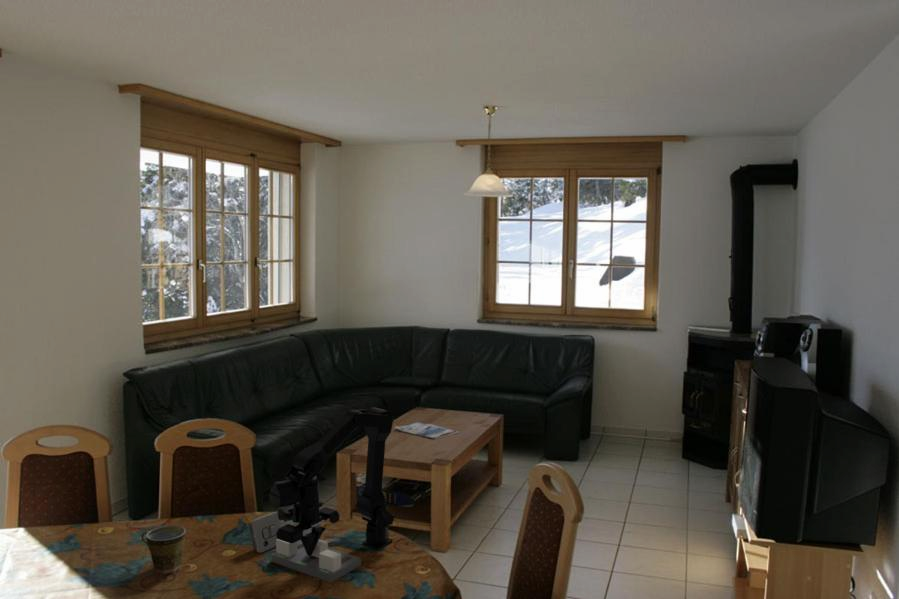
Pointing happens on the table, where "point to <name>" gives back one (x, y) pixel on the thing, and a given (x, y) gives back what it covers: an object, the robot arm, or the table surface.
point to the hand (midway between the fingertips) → (309, 554)
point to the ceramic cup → (165, 547)
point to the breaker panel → (314, 561)
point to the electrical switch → (264, 532)
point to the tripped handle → (320, 548)
